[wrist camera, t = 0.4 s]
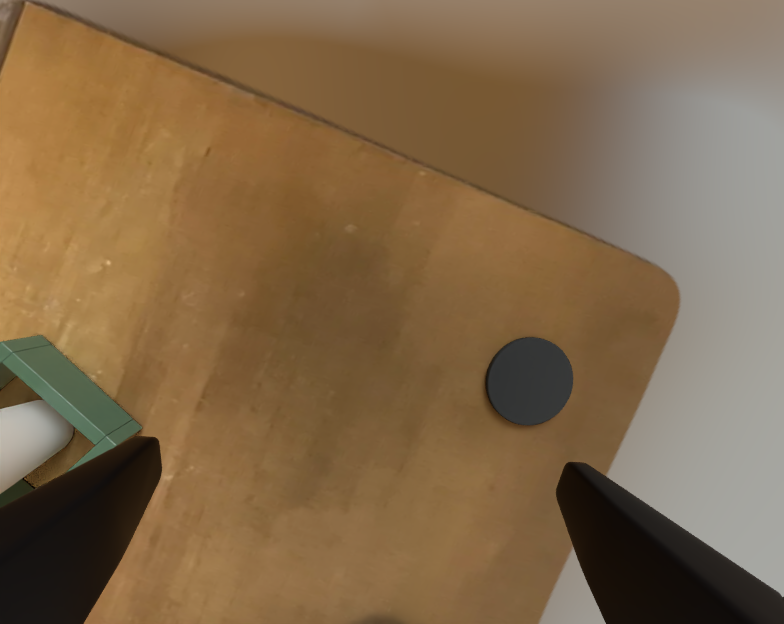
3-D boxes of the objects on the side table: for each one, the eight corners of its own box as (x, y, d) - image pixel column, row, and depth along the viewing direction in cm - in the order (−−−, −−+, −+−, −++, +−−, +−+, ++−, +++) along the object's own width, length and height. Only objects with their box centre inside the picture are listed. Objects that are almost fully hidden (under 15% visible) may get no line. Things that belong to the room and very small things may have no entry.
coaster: (523, 440, 25) (526, 443, 25) (467, 379, 24) (469, 380, 24) (586, 381, 25) (590, 383, 25) (533, 318, 24) (536, 319, 24)
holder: (46, 515, 22) (7, 544, 20) (-61, 426, 21) (-116, 445, 19) (143, 427, 22) (116, 445, 20) (41, 334, 21) (0, 341, 19)
